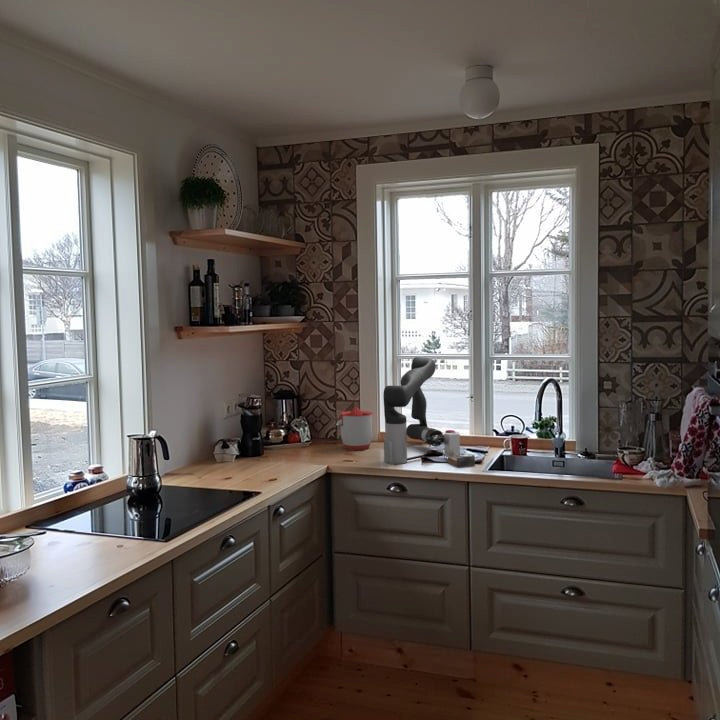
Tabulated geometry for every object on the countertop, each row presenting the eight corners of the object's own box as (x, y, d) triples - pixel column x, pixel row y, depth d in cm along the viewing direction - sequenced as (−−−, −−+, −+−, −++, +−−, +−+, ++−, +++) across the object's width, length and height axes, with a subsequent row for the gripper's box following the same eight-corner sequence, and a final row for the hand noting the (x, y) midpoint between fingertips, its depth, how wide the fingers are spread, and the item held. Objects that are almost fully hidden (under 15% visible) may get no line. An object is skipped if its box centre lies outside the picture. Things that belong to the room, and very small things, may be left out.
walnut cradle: (457, 467, 299) (457, 457, 298) (447, 463, 307) (447, 453, 307) (474, 465, 301) (474, 456, 301) (464, 461, 310) (464, 452, 310)
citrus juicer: (334, 446, 349) (333, 405, 347) (369, 444, 352) (368, 403, 351) (339, 452, 334) (338, 410, 332) (376, 450, 337) (375, 408, 335)
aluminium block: (449, 460, 313) (449, 435, 312) (444, 457, 318) (444, 433, 317) (459, 459, 315) (459, 434, 314) (454, 456, 319) (454, 432, 319)
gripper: (418, 429, 331) (434, 435, 316) (445, 427, 336) (462, 432, 321) (418, 445, 332) (434, 452, 317) (446, 443, 337) (462, 449, 322)
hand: (448, 442), depth 319 cm, fingers open, 8 cm apart
